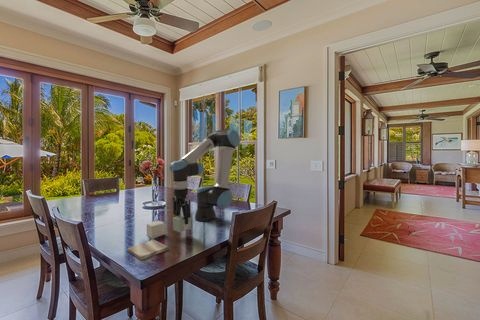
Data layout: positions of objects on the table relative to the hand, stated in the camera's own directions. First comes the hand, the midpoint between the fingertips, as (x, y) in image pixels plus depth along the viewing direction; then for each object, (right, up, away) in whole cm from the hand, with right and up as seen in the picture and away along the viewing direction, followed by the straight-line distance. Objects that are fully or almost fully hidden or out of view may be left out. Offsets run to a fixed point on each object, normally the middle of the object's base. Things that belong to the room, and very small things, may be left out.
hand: (182, 228), depth 132 cm
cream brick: (-16, -5, +3) cm, 17 cm away
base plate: (-13, -6, -17) cm, 22 cm away
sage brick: (0, -1, 0) cm, 0 cm away
